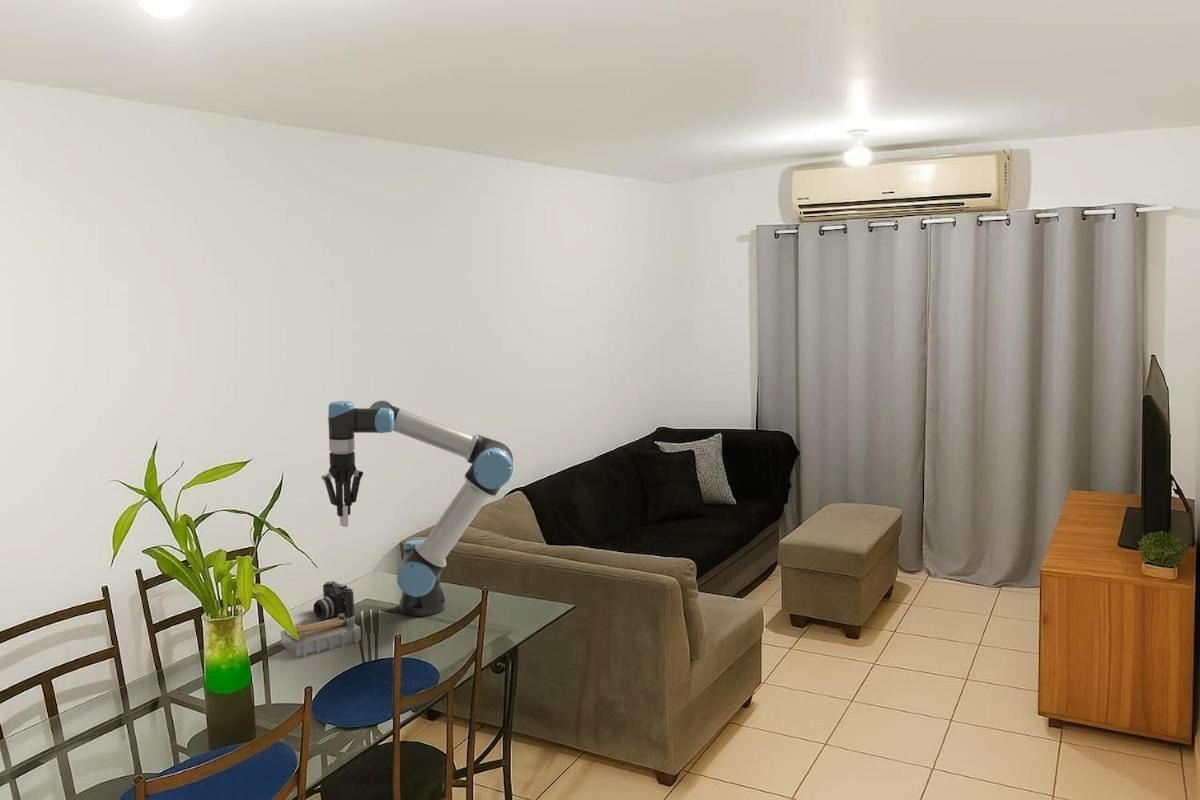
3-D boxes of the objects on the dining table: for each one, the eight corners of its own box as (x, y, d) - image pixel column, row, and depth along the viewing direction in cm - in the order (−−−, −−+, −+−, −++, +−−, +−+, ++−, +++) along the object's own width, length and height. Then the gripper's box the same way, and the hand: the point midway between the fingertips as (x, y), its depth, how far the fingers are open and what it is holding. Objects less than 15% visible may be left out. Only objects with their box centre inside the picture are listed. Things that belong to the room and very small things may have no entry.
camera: (304, 614, 303) (303, 585, 302) (333, 605, 311) (332, 577, 310) (328, 626, 294) (327, 596, 292) (358, 616, 302) (357, 587, 300)
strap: (343, 619, 288) (344, 615, 288) (351, 624, 284) (351, 620, 284) (291, 630, 277) (291, 626, 277) (298, 635, 274) (298, 631, 273)
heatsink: (342, 627, 293) (341, 607, 292) (362, 641, 282) (361, 620, 281) (279, 643, 280) (279, 622, 279) (298, 658, 270) (297, 637, 269)
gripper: (356, 447, 294) (358, 519, 297) (316, 452, 285) (319, 526, 289) (367, 451, 288) (368, 524, 291) (327, 456, 280) (329, 532, 283)
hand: (344, 525), depth 290 cm, fingers closed
